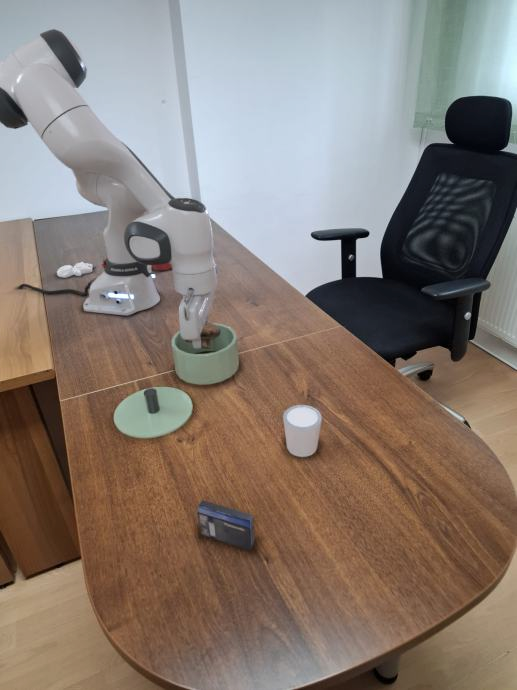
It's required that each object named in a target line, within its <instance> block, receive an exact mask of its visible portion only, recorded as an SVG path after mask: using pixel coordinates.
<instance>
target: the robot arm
mask: <svg viewBox="0 0 517 690" xmlns="http://www.w3.org/2000/svg"><path fill="white" fill-rule="evenodd" d="M39 35H40V36H38V37H36V38H33V39H31V40H30V41H28V42H25V43H24V44H22V45H20V46H19V47H17V48H15V49H14V50H12V53H11V54H9V55H8V56H7V57H5V58H4V59H3V60H2V61H1V62H0V124H1V125H3V126H4V127H5V128H8V129H14V130H16V129H20V128H23V127H26V126H28V125H29V124H30V125H31V127H32V128H33V129H34V131H35V132H36V134H37V135H38V137H39V138H40V139H41V140H42V142H43V143H44V145H45V146H46V147H47V148H48V150H49V151H50V152H51V153H52V155H53V156H54V157H55V158H56V159H57V160H58V161H59V162H60V163H61V164H63V166H65V167H66V168H68V169H70V170H71V172H72V174H73V176H74V178H75V186H76V190H77V192H78V194H79V195H80V196H81V197H82V198H83V199H84V200H86V201H88V202H89V203H91V204H93V205H94V206H98V207H101V208H102V207H103V208H106V209H107V212H108V223H107V226H106V227H104V229H103V231H102V237H103V243H104V246H105V247H104V248H105V251H106V256H105V259H103V261H102V263H101V264H100V267H101V269H104V271H103V272H101V274H100V275H98V276H97V277H95V278H93V279H91V280H90V281H88V282H87V285H86V286H85V287H84V292H80V291H78V290H75V289H71V288H68V289H67V288H66V289H65V288H63V289H58V290H45V289H42V288H39V287H37V286H33V285H31V284H27V283H21V284H20V285H19V286H18V289H19V290H20V289H23V288H28V289H30V290H33V291H37V292H39V293H41V294H46V295H55V294H56V295H57V294H64V293H73V294H76V295H78V296H82V297H86V296H87V295H88V297H87V298H86V299H85V300H84V302H83V305H82V307H83V311H84V312H88V313H99V314H106V315H115V316H116V315H118V316H131V315H133V314H135V313H137V312H140V311H141V312H142V311H144V310H148V309H150V308H152V307H154V306H156V305H157V304H158V303H160V300H161V296H160V294H159V291H158V290H157V288H156V285H155V282H154V279H155V278H156V274H154V273H153V268H152V265H160V264H166V263H170V264H171V265H172V268H171V271H172V275H173V276H172V279H173V285H174V290H175V292H177V293H178V294H180V295H181V296H182V299H181V301H180V303H179V306H178V322H179V331H180V335H181V337H182V339H183V340H192V343H193V347H194V348H201V346H202V338H201V337H200V335H201V332H202V330H203V327H204V325H205V323H210V312H211V310H212V307H213V304H214V302H215V298H216V288H218V287H217V286H218V281H217V274H218V264H216V262H215V258H214V255H213V249H214V235H213V229H212V222H211V217H210V214H209V210H208V208H207V207H206V205H205V204H204V203H203V202H201V201H199V200H197V199H194V198H189V197H174V196H173V195H172V194H171V193H170V192H169V191H168V190H167V189H166V188H165V186H163V184H162V183H161V182H160V181H159V180H158V179H157V178H156V176H155V175H154V174H153V173H152V171H150V169H149V168H148V166H146V164H145V163H144V162H143V161H142V160H141V159H140V158H139V157H138V156H137V154H136V153H134V151H133V150H131V148H130V147H128V145H127V144H125V143H124V142H123V141H121V140H120V139H119V138H118V137H116V135H115V134H113V133H112V131H110V130H109V128H108V127H107V126H106V125H105V124H104V123H103V122H102V121H101V119H99V117H98V116H97V115H96V114H95V112H94V111H93V110H92V108H91V107H90V106H89V104H88V103H87V102H86V100H85V99H84V98H83V96H82V95H81V94H80V93H79V92H78V91H77V90H76V89H78V88H80V86H81V85H82V84H83V83H84V81H85V80H86V78H87V72H88V68H87V66H86V63H85V59H84V56H83V54H82V52H81V50H80V49H79V47H78V46H77V45H76V43H75V42H74V41H73V40H72V39H71V38H69V36H67V35H65V34H64V33H63V32H62V31H60V30H58V29H55V28H53V29H48V30H46V31H43V32H41V33H39ZM152 273H153V274H152Z"/></svg>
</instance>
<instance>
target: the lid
mask: <svg viewBox="0 0 517 690" xmlns="http://www.w3.org/2000/svg"><path fill="white" fill-rule="evenodd" d="M193 405H194V404H193V400H192V399H191V397H190V396H189V394H187V393H186V392H185V391H183V390H182V389H179V388H176V387H171V386H154V387H147V388H144V389H141V390H138V391H136V392H134V393H132V394H130V395H128V396H126V398H124V399H123V400H122V401H121V402H120V403H119V404H118V405H117V407H116V408H115V410H114V413H113V423H114V426H115V428H116V429H117V430H118V431H119V432H120V433H121V434H124V435H125V436H127V437H131V438H134V439H154V438H160V437H163V436H166V435H169V434H171V433H173V432H175V431H177V430H179V429H180V428H181V427H182V426H184V425H185V424H186V423H187V422H188V421H189V420H190V418H191V416H192V414H193V410H194V406H193Z"/></svg>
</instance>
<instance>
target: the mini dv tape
mask: <svg viewBox="0 0 517 690" xmlns="http://www.w3.org/2000/svg"><path fill="white" fill-rule="evenodd" d="M254 516H255V515H254V514H251V513H247V512H245V511H241V510H238V509H234V508H231V507H228V506H224V505H221V504H218V503H214V502H210V501H206V500H204V499H201V500H200V502H199V503H198V506H197V518H198V525H199V531H200V535H202V536H204V537H207V538H210V539H213V540H217V541H220V542H223V543H226V544H228V545H232V546H235V547H238V548H240V549H241V548H242V549H244V550H247V551H253V547H254V546H255V543H256V531H255V530H256V529H255V517H254Z"/></svg>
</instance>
